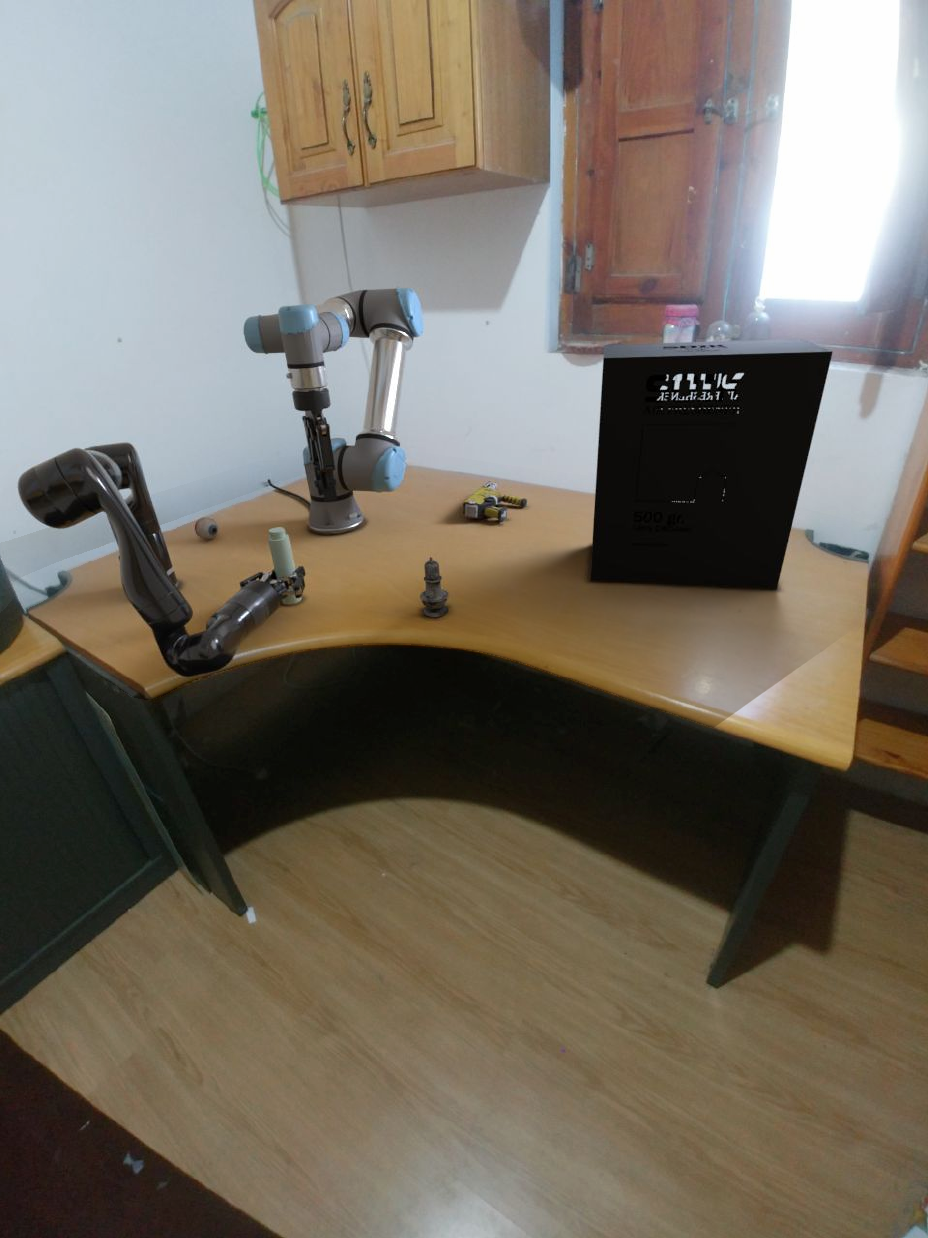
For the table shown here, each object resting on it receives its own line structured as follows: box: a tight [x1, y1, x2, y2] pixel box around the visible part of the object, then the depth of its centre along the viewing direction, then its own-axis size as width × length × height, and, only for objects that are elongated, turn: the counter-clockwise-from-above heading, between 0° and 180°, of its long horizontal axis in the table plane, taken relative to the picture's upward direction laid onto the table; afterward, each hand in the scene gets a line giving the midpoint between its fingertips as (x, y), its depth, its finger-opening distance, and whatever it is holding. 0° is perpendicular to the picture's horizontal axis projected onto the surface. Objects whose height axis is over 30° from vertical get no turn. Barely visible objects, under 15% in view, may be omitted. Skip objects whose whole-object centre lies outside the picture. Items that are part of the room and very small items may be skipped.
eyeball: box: [194, 516, 220, 541], centre depth 163 cm, size 6×6×6 cm
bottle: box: [267, 526, 302, 606], centre depth 127 cm, size 4×4×16 cm
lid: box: [314, 476, 336, 489], centre depth 135 cm, size 5×5×2 cm
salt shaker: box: [419, 556, 450, 618], centre depth 120 cm, size 6×6×12 cm
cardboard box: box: [589, 338, 834, 590], centre depth 125 cm, size 38×20×45 cm, turn 78°
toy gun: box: [461, 480, 528, 523], centre depth 173 cm, size 5×24×15 cm
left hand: (292, 569), depth 130 cm, fingers closed on bottle, 4 cm apart
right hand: (327, 496), depth 137 cm, fingers closed on lid, 4 cm apart
